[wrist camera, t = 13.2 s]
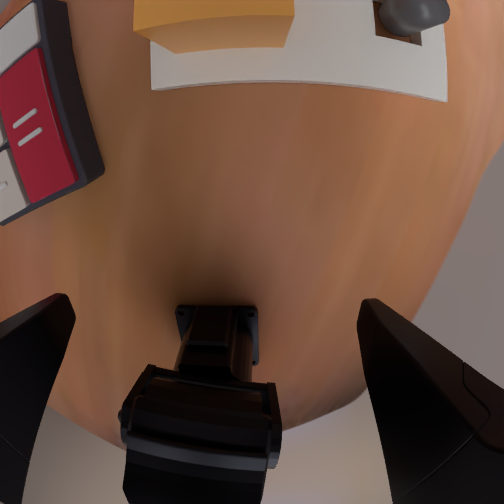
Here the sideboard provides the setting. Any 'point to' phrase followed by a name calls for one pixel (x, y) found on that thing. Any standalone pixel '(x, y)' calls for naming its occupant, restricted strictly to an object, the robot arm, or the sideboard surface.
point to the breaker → (412, 15)
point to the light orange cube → (213, 23)
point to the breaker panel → (319, 56)
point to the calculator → (41, 113)
